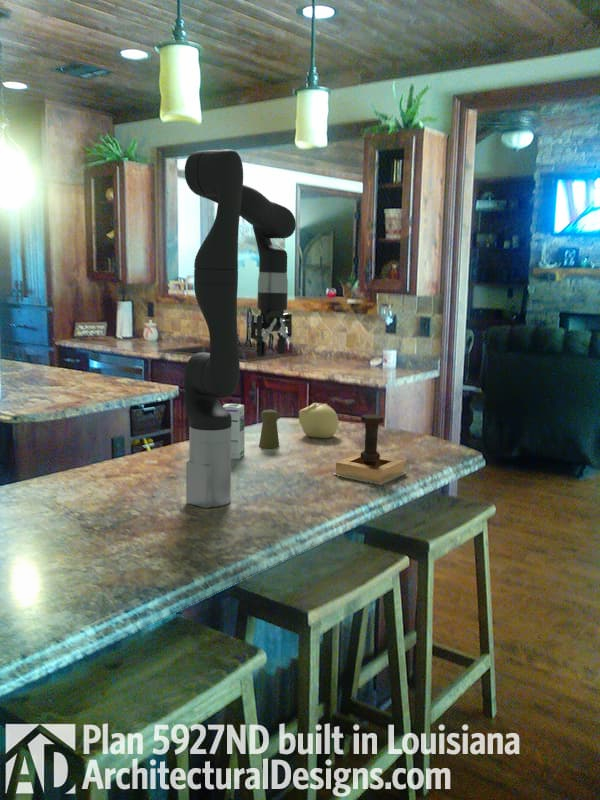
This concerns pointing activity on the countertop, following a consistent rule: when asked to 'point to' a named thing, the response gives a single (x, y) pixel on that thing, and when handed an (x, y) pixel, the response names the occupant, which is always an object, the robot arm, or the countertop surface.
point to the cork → (269, 430)
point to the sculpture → (318, 420)
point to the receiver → (370, 469)
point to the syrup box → (236, 429)
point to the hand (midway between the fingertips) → (271, 355)
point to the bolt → (371, 438)
